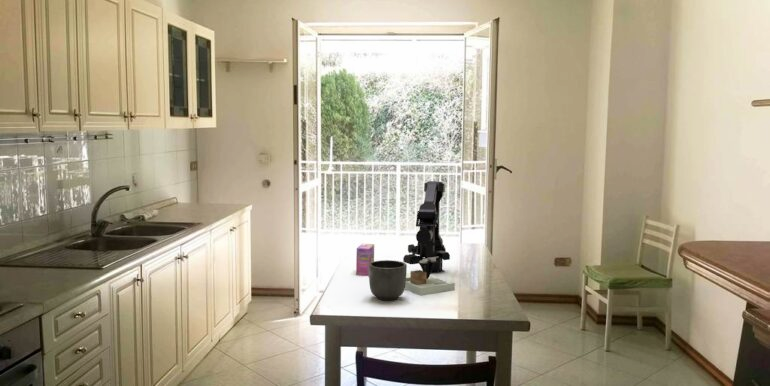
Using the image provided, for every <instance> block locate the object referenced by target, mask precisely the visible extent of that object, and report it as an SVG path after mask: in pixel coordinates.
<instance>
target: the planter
mask: <svg viewBox="0 0 770 386" xmlns="http://www.w3.org/2000/svg"><path fill="white" fill-rule="evenodd" d="M407 267H408V266H407V263H405V262H403V261H400V260H388V259H384V260H383V259H382V260H374V262H371V263H370V264H369V276H368V281H369V289H370V292H371V294H372V295H373V296H374V297H375V298H376V300H377V301H381V302H394V301H398V299H399V298H400V297H401V296H403V293H405V292H404V291H405V290H406V289H405V284H406V274H407V271H408V270H407Z"/></svg>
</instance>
